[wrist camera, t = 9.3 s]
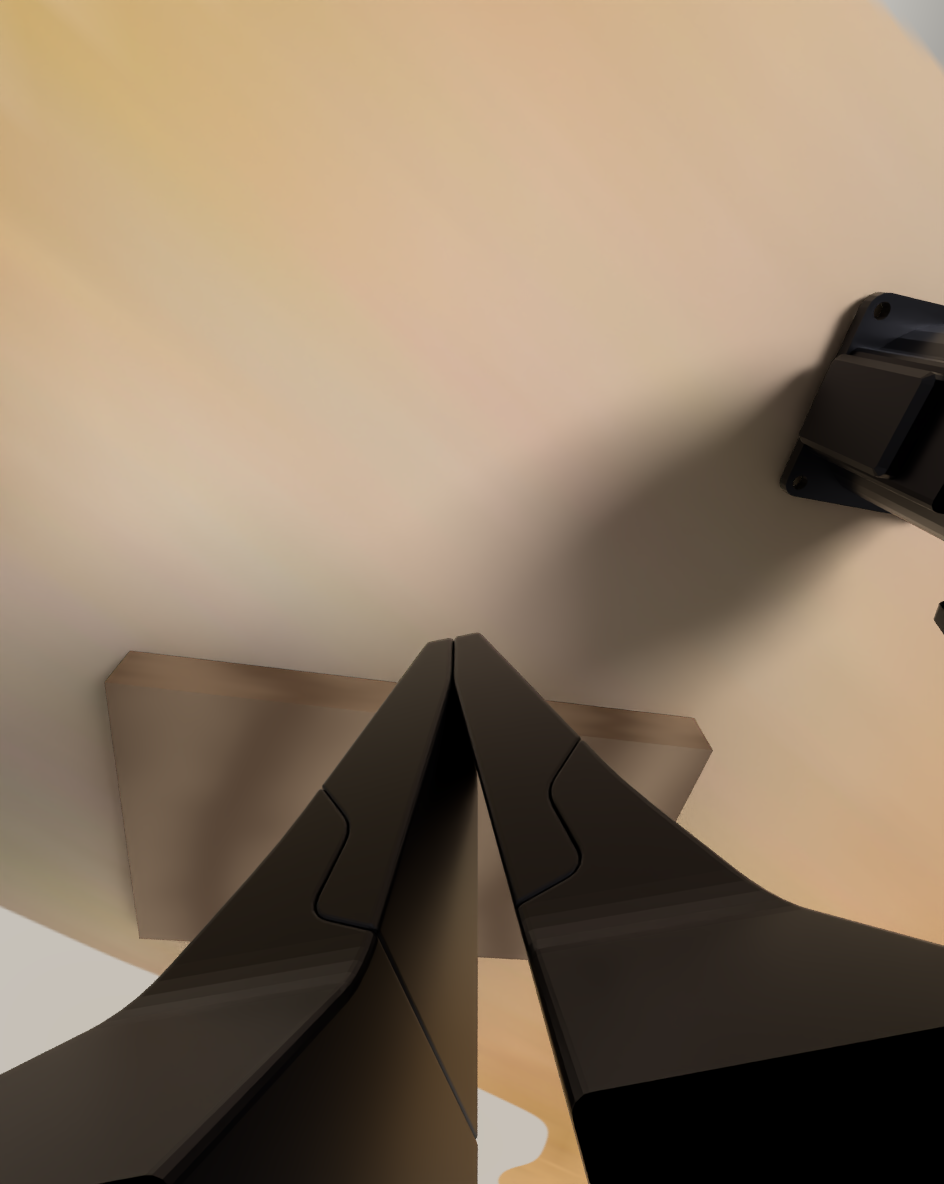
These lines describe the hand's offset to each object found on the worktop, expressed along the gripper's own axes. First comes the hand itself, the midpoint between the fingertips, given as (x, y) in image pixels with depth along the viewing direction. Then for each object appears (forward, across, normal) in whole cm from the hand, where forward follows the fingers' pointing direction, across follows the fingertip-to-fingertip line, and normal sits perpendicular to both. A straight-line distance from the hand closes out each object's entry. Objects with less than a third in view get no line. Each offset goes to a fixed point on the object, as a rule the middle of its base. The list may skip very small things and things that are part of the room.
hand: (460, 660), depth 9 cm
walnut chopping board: (+12, +6, +17) cm, 22 cm away
